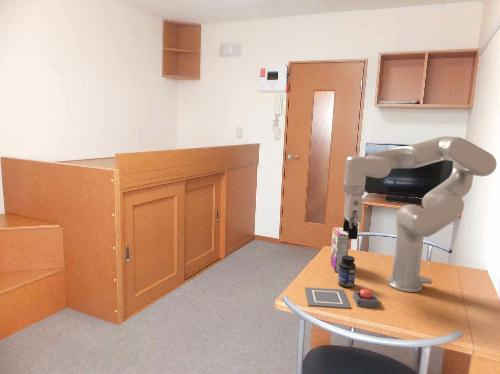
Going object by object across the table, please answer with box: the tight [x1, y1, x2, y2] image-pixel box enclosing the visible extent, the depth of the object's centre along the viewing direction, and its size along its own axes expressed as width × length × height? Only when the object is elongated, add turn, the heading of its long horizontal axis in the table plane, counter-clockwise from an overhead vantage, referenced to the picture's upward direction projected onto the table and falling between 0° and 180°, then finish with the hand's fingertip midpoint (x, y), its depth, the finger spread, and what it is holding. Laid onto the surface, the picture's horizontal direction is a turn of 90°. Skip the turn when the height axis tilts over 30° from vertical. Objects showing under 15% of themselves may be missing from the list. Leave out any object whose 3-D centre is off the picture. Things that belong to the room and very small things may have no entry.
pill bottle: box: [337, 254, 357, 289], centre depth 144 cm, size 6×6×11 cm
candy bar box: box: [330, 226, 350, 273], centre depth 161 cm, size 11×5×16 cm, turn 179°
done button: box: [360, 288, 373, 299], centre depth 130 cm, size 4×4×2 cm
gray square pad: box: [304, 286, 352, 310], centre depth 133 cm, size 14×14×1 cm
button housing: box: [352, 290, 380, 308], centre depth 131 cm, size 7×7×2 cm
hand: (349, 235), depth 142 cm, fingers open, 9 cm apart
